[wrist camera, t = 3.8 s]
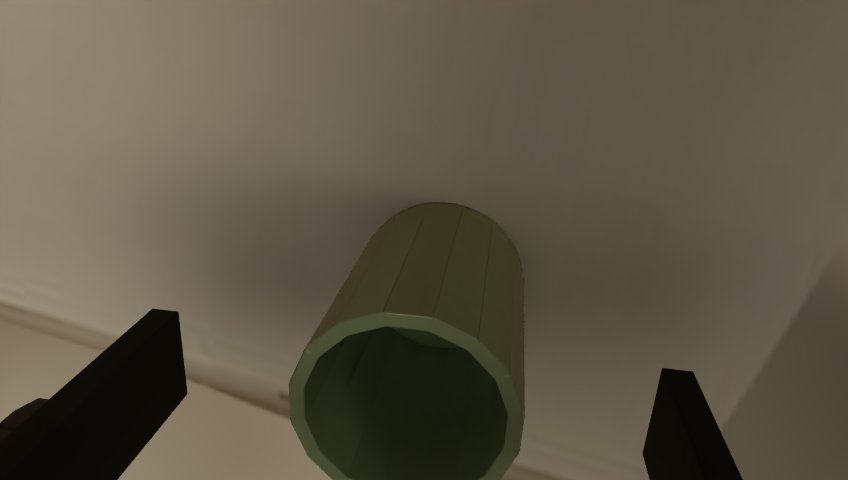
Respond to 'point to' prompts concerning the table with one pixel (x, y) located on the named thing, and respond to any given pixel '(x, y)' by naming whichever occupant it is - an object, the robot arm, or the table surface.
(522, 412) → the green cup
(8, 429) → the robot arm
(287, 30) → the table surface
